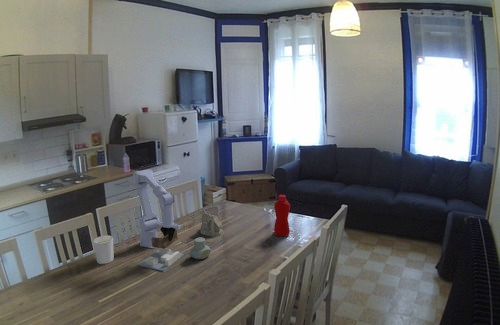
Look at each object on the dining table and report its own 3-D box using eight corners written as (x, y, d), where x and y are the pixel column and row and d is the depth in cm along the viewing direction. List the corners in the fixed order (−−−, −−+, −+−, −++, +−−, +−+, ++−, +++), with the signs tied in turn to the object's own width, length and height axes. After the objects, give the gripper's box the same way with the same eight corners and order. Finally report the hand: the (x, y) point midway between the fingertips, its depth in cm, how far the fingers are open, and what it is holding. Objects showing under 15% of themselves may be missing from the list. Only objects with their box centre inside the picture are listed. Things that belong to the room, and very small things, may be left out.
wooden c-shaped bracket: (152, 246, 179) (151, 238, 178) (165, 237, 190) (164, 229, 189) (164, 248, 176) (163, 239, 175) (177, 239, 187) (176, 230, 186)
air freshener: (202, 250, 189) (201, 234, 187) (213, 255, 184) (212, 238, 182) (187, 258, 181) (186, 241, 179) (198, 263, 176) (197, 245, 174)
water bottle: (292, 237, 205) (293, 197, 200) (274, 237, 205) (275, 198, 200) (291, 230, 214) (291, 193, 209) (273, 231, 214) (274, 193, 209)
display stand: (138, 265, 174) (137, 258, 173) (159, 250, 190) (159, 243, 189) (163, 271, 168) (163, 264, 167) (184, 255, 184) (183, 248, 183)
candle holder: (119, 257, 182) (117, 236, 180) (106, 266, 173) (103, 244, 171) (104, 254, 186) (102, 234, 183) (91, 263, 176) (88, 241, 174)
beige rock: (216, 238, 205) (215, 214, 203) (195, 233, 213) (194, 210, 211) (230, 230, 218) (230, 207, 216) (210, 226, 226) (210, 204, 224)
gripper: (183, 215, 179) (184, 239, 182) (160, 211, 184) (162, 235, 187) (175, 219, 173) (177, 244, 175) (152, 216, 178) (154, 240, 181)
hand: (169, 240), depth 181 cm, fingers closed on wooden c-shaped bracket
